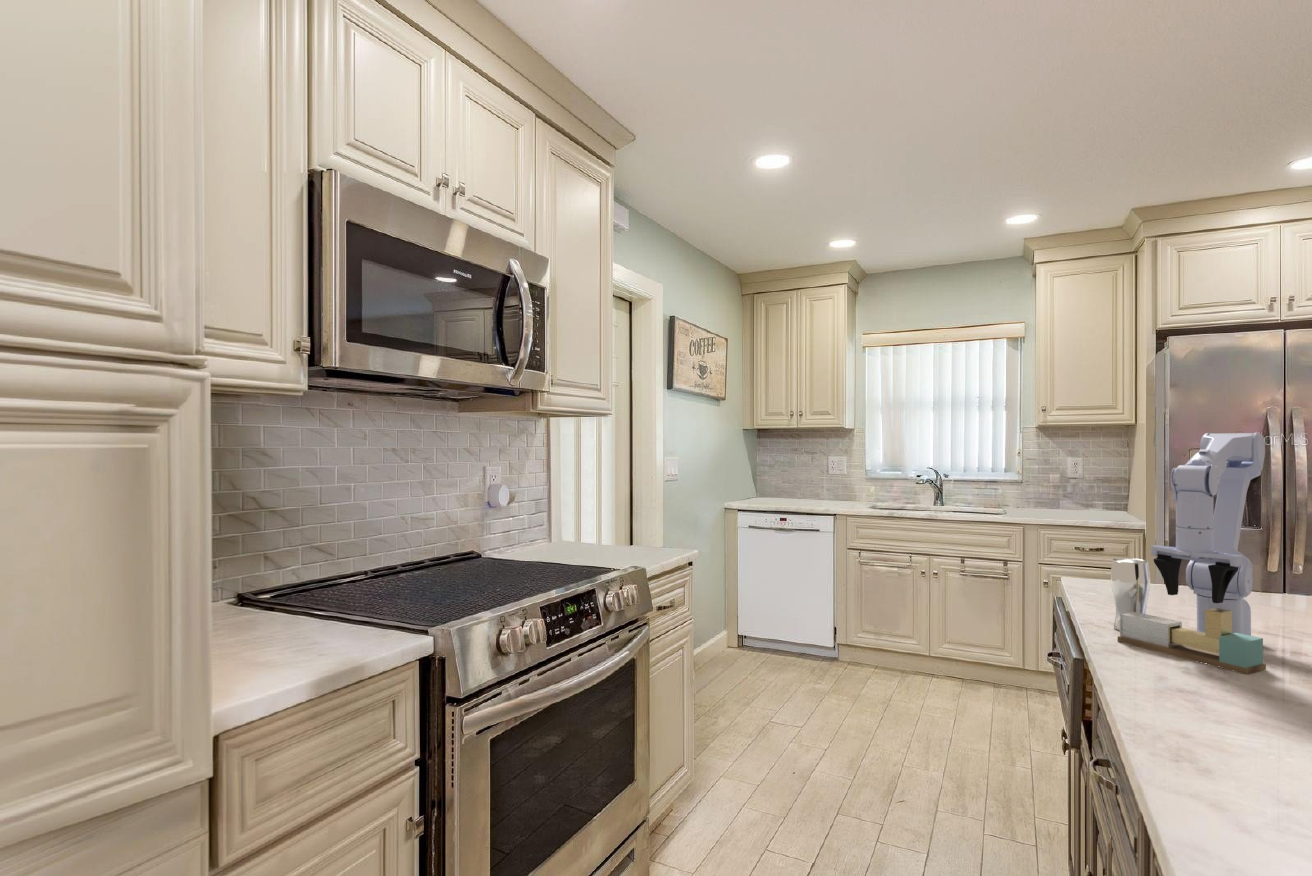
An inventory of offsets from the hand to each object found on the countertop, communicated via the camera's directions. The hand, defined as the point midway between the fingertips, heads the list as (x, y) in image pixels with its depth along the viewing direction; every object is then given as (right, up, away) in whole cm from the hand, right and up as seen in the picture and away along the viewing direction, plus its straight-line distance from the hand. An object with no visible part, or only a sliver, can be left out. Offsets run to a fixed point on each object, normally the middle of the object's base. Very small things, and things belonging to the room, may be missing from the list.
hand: (1194, 598), depth 132 cm
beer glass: (-1, -11, +16) cm, 19 cm away
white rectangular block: (-5, -9, +5) cm, 12 cm away
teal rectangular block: (+1, -9, -9) cm, 13 cm away
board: (-2, -10, -1) cm, 11 cm away
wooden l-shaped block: (-1, -8, -3) cm, 9 cm away
